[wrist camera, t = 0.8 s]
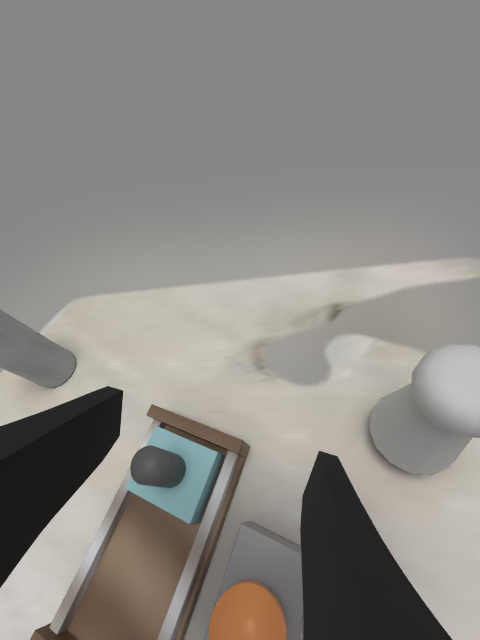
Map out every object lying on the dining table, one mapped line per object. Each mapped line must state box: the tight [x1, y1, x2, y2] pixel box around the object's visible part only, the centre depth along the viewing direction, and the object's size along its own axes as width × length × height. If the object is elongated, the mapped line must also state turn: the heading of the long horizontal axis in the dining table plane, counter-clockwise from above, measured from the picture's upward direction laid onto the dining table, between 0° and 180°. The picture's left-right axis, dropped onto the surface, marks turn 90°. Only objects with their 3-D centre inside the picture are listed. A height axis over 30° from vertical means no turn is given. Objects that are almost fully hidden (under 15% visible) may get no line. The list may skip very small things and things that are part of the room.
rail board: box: [30, 405, 250, 640], centre depth 23 cm, size 17×9×3 cm, turn 158°
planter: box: [0, 310, 76, 388], centre depth 31 cm, size 4×4×10 cm
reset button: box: [209, 580, 287, 640], centre depth 17 cm, size 4×4×4 cm
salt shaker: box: [369, 343, 480, 475], centre depth 18 cm, size 6×6×13 cm
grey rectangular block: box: [204, 522, 304, 640], centre depth 19 cm, size 8×5×4 cm, turn 158°
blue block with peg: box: [125, 426, 224, 524], centre depth 22 cm, size 5×6×6 cm
